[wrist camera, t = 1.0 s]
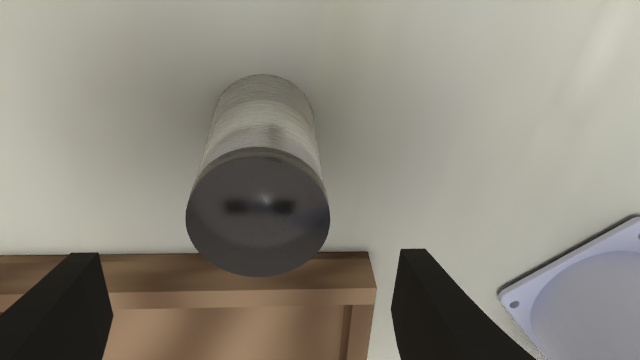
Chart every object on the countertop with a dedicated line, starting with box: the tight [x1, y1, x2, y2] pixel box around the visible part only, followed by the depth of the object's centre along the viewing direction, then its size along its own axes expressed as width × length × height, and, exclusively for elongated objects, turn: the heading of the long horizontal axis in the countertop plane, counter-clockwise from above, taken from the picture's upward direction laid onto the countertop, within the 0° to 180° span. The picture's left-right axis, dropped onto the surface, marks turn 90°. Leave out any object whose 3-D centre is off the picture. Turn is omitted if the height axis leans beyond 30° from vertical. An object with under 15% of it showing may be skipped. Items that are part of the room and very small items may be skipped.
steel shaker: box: [186, 75, 330, 277], centre depth 17 cm, size 4×4×7 cm
